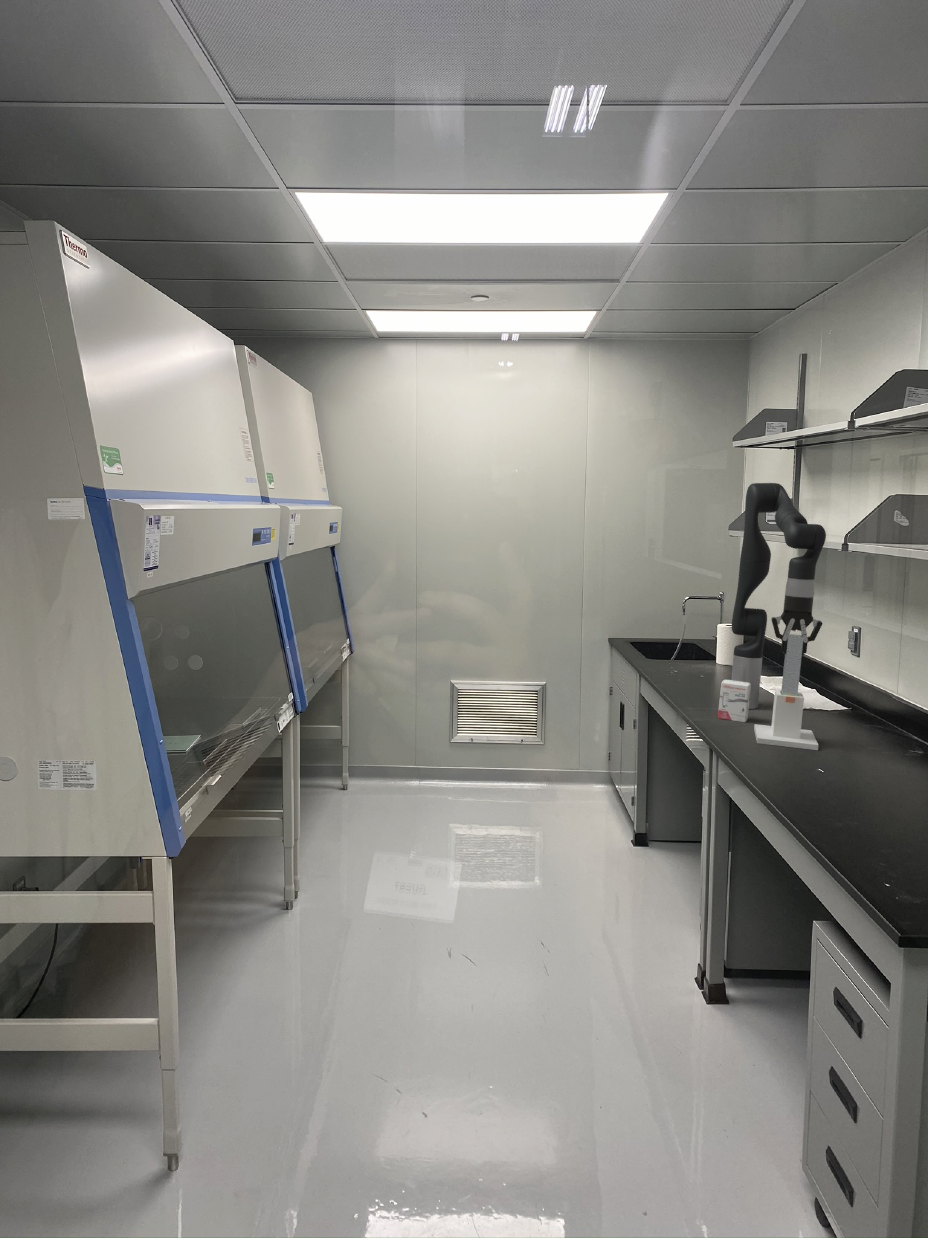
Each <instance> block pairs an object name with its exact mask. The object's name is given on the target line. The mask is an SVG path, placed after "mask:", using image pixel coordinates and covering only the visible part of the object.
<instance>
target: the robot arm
mask: <svg viewBox="0 0 928 1238" xmlns="http://www.w3.org/2000/svg"><path fill="white" fill-rule="evenodd" d="M744 505H745V506H744V528H743V538H742V546H741V551H740V558H739V566H738V569H739V570H738V581H737V590H736V594H735V595H736V596H735V601H734V605H733V612H732V617H731V631H732V633H733V634H734V635H736V636H748V637H753V638H752V639H751V640H750V641H748V642H745V643H741V644H738V645H735V646H734V647H733V657H732V666H731V667H732V668H731V670H732V671H731V677H730V678H731V679H730V680H733V681H740V682H747V683H750V684H751V690H750V700H749V710H750V709H752V710H754V709H758V707H759V698H760V689H761V680H762V679H761V678H762V677H761V676H762V668H763V666H762V665H763V656H764V646H765V638H766V637H765V636H766V631H767V625H768V624H767V623H768V614H767V611H766V610H765V609H762V608H752V607H746V605H747V603H748V601H749V598H750V597H751V595H752V594H753V593H754V591H755V590H756V589H757V588H758V587H759V586H760V585H761V584H762V583H763V581H764V580H766V578H767V576H768V575H769V572H770V568H771V567H770V566H771V558H772V552H771V547H769V544H768V541H767V540H766V539H765V537H764V535H763V533H762V531H761V529H760V526H759V514H762V513H764V514H765V513H770V514H771V513H775V514H774V520H775V521H774V522H775V525H776V526H777V528H778V529H780V530H781V532H782V533H783V536H784V542H785V544H786V546H788V547H789V548H792V549H796V550H799V549H800V550H806V551H805V553H804V554H803V555H801V556H796V557H792V558H790V560H789V562H788V569H787V571H788V572H787V580H786V584H785V589H784V590H785V591H784V601H783V602H784V603H783V609H782V610H783V611H782V613H781V615H780V616H776V617H775V616H772V617H771V623H772V626H773V630H774V631H773V632H774V634H775V637H776V639H780V640H781V646H780V651H781V652H782V653H783V655H785V654H786V651H787V638H788V636H789V634H791V631H795V630H796V631H799V632H800V633H801V634H800V635H802V637H804V638H803V647H802V656H804V655H805V654H807V650H808V643H809V642H814V641H815V640H816V638H817V636H818V634H819V632H820V630H821V629H822V626H823V622H822V621H821V620H818V619H816V618H814V617H813V605H814V596H815V577H816V568H817V563H818V561H819V559H820V555H821V552H822V551H823V547H824V546H825V542H826V540H827V534H826V533H827V532H826V530H825V528H824V527H823V525H821V524H818V523H817V524H816V523H808V520H807V519H806V517H805V516H804V515H803V514H802V513H801V512H800V511H799V510H798V509H797V508H796V507H795V505H794V504H793V501H792V499H791V498H790V496H789V494H788V492H787V491H786V489H785V487H784V486H783V485H782V484H780V483H776V482H755V483H751V484H749V485H748V487H747V491H746V495H745V503H744ZM781 621H782V622H783V624H784V625H785V628H784V630H783V633H782V634H781V632H780V627H779V625H780V624H781ZM810 624H812V627H813V629H812V630H811V633H810V635H809V636H808V632H807V627H809V625H810Z"/></svg>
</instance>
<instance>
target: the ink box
mask: <svg viewBox="0 0 928 1238" xmlns="http://www.w3.org/2000/svg"><path fill="white" fill-rule="evenodd" d="M750 690H751V684H750V683H747V682H740V681H733V680H731V679H723V680H722V681H721V684H720V691H719V692H720V693H719V702H718V711H717V712H718V713H717V719H720V720H727V721H734V722H741V723H746V722H747V720H748V717H749V710H750V709H749V700H750Z"/></svg>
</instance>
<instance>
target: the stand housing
mask: <svg viewBox="0 0 928 1238" xmlns="http://www.w3.org/2000/svg"><path fill="white" fill-rule="evenodd" d="M781 690H782V689H780V690H779V689H774V698H773V707H772V716H771V717H772V718H771V725H767V724H766V725H764V724H756V723H754V727H753V730H754V736H755V739H756V740H755V741H756V744H761V745H771V746H779V747H786V748H787V747H788V748H795V749H803V750H804V749H805V750H813V751H819V743H818V740H816V737H815V734H814V732H813V731H812V730H809V729H802V723H803V720H802V719H803V712H804V704H805V703H804V702H805V697H804V694H803V693H802V691H801V692H800V691H798V696H789V695H781Z"/></svg>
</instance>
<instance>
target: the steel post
mask: <svg viewBox="0 0 928 1238" xmlns="http://www.w3.org/2000/svg"><path fill="white" fill-rule="evenodd" d="M803 638H804V637H802V635H801V634H792V633H790V634H789V636H788V638H787V651H786V654H784V662H783V669H782V671H783V672H782V681H781V683H782V684H781V689H780V690H781V695H789V696H798V692H799V685H800V675H801V665H802V657H803V655H802V647H803Z"/></svg>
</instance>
